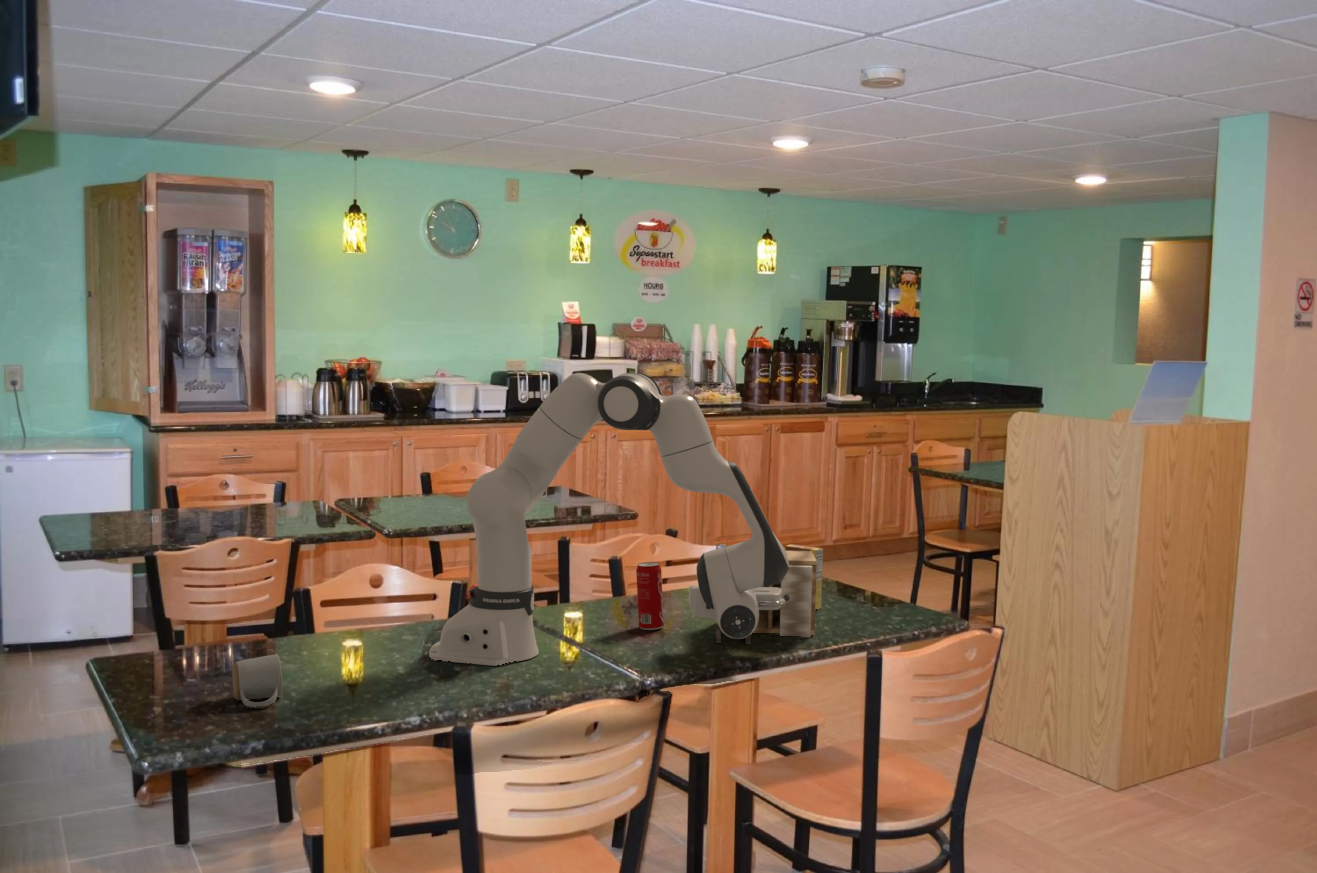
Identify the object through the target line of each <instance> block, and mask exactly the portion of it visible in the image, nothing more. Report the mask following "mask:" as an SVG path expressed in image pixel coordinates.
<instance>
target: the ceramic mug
mask: <svg viewBox="0 0 1317 873" xmlns="http://www.w3.org/2000/svg"><path fill="white" fill-rule="evenodd" d="M280 660H281V658H280V656H279V654H278V653H275V654H271V655H265V656H264V655H263V656H260V657H259V656H258V657H253V658H247V659H242V660H239V661H238V660H237V661H236V662H234V663H233V664H232V665H231V666H232V667H231V668H232V669H231V675H232V689H233V696H234V699H235V700H236V699H237V700H236V701H238V700H242V701H241V702H242V704H243V705H244V706H245V705H246V706H252V707H256V706H257V707H258V706H267V705H270V704H272V703H273V704H275V702H276V701H277V697H278V696H281V697H282V696H283V676H282V675H283V673H282V666H281V661H280ZM270 697H271V698H270ZM261 698H269V699H265V700H264V701H258V702H257V701H256V702H255V701H252V700H250V701H249V699H257V700H262V699H261ZM278 698H279V697H278ZM273 704H272V705H273ZM246 706H245V707H246Z"/></svg>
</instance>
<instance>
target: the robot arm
mask: <svg viewBox="0 0 1317 873" xmlns="http://www.w3.org/2000/svg"><path fill="white" fill-rule="evenodd" d="M601 420H603V421H604V422H605V423H606V424H607V425H608V426H609V427H612V428H614V429H616V430H621V431H649V432H650V433H651V434H652V436H653V438H654V440H655V442H656V445H657V449H658V452H659V456H660V459H661V462H662V464H663V468H664V471H665V473H666V475H667V477H668V478H669V480H670V481H671V482H672V484H674V485H675V486H677V487H679V488H681V489H682V490H685V491H689V492H695V493H706V494H707V493H708V494H714V495H715V494H716V495H722V496H726V497H728V498H730V499H731V500H733V501H734V502H735V503H736V505H737V507H738V508H739V510H740V512H741V515H742V516H743V519H744V520H745V523H746V525H747V526H748V529H749V530H750V532H751V535H752V536H751V537H750V538H749V539H747V540H744V541H742V542H738V543H734V544H731V545H727V546H722V547H719V548H716V549H712V550H709V551H706V552H703V553H702V554H701V555H700V557H699V560H698V562H697V564H696V578H697V584H698V585H690V586H688V605H689V607H690V609H691V610H692V611H693V612H694V616H695V618H698V619H702V620H703V619H705V620H709V621H715V622H716V624H717V626H718V628H719V630H721V632H722V633H723V635H725V636H726V637H728V638H731V639H735V640H740V639H744V638H745V637H747V636H749V635H750V636H751V635H752V633H753V632H754V631H755V629H756V627H757V625H758V621H759V610H778V609H780V608H781V606H782V605H785V600H784V599H782V589H781V588H778V587H764V586H769V585H774V584H779V583H780V582H781V581H782V580H783V578H784V577H785V575H786V574H787V572H788V570H789V561H788V557H787V554H786V551H785V547H784V546H783V544H782V542H781V541H780V540H779V539H778V537H777V536H776V534H775V533H774V532H773V530H772V528H771V525H770V523H769V521H768V520H767V518H766V517H767V516H765V514H764V512H763V510H762V507H761V506H760V504H759V502H758V499H757V498H756V496H755V494H754V491H753V490H752V488H751V486H750V485H749V483H748V481H747V478H746V476H745V475H744V473H743V472H742V469H741V468H740V467H739V466H738V465H737V463H735V462H734V461H730V460H729V461H728V460H726V459H725V458H724V457H723V455H721V453H720V452H719V451H718V448H717V447H716V444H715V442H714V439H713V436H712V433H711V429H710V428H709V425H708V423H707V420H706V418H705V416H704V413H703V411H702V409H701V408H700V406H699V404H698V402H697V400H696V399H695V398H694V397H693V396H691V395H689V394H684V393H674V394H670V395H662V392H661V389H660V387H659V385H658V383H657V382H656V381H655V380H654V379H653V378H652V377H650V376H649V375H648V374H645V373H640V372H626V373H621V374H619V375H617V376H615V377H613V378H611V379H609V380H608V381H606V382H601V381H599V380H597V379H596V378H594V377H593V376H592V375H589V374H587V373H584V372H583V373H582V372H576V373H571V374H570V375H568V376H567V377H566V378H565V379H564V380H562V382H560V383H559V384H558V386H556V387H555V388H554V390H552V391H551V392H550V393H549V395H548V396H547V397H546V398H545V399H544V401H542V403H541V404H540V406H539V407H538V408H537V410H536V411H534V413H533V414H532V416H531V417H530V418H529V419H528V421H527V422H526V423H525V425H524V426H523V428H522V429H521V430H520V431H519V432H518V434H517V435H516V437H515V440H514V443H513V444H512V446H511V448H510V450H509V451H508V453H507V455H506V456H505V458H504V459H503V460H502V462H501V463H500V465H498V466H497V468H495V469H494V470H491V471H488V472H485V473H484V474H482V475H480V476H479V477H478V478H476V480H475V481H474V482H473V483H472V485H471V486H470V488H469V490H468V492H467V496H466V505H467V506H466V507H467V509H468V512H469V514H470V516H471V518H472V525H473V529H474V535H475V539H476V546H477V548H476V549H477V583H474V584H472V585H471V586H470V587H469V590H468V592H467V601H468V604H467V605H466V606H465V607H463V608H462V609H461V610H459V611H458V612H457V613H455V614H454V615H453V616H451V617H450V618H449V619H448V620H447V621H446V622H445V623H444V626H442V630H441V632H440V633H441V635H440V638H439V641H437V642H436V643H435V644H433V645H432V646H431V647H430V649H429V652H428V657H430V658H431V659H430V658H429V659H430V660H432V659H433V660H432V661H437V660H442V661H441V662H448V661H450V663H451V662H452V663H461V664H470V663H471V665H482V666H495V667H498V666H497V665H500V666H503V665H502V664H504V665H506V664H505V663H507V664H510V663H515V662H514V661H516V662H521V661H525V660H530V659H533V658H534V657H536V656H537V655H539V653H540V651H539V648H538V645H537V644H538V643H537V639H536V635H535V628H534V619H533V613H534V609H535V592H534V586H533V584H532V575H533V573H532V572H533V571H532V569H533V568H532V565H533V564H532V562H533V561H532V560H533V558H532V557H533V554H532V553H533V551H532V546H531V545H530V543H529V539H528V537H529V536H528V533H527V532H528V531H527V526H526V515H527V514H528V513H530V512H531V511H532V510H533V509H534V508H535V507H536V505H537V503H538V502H539V501H540V500H541V498H542V497H543V495H544V493H545V492H546V491H547V489H548V488H549V486H550V485H551V483H552V482H553V480H554V478H555V477H556V476H557V474H558V472H559V471H560V469H561V468H562V467H563V465H564V464H565V463H566V462H567V460H568V459H569V457H570V456H571V455H572V454H573V453H574V451H575V450H576V449H577V447H578V446H579V445H580V443H581V442H582V441H583V440H584V439H585V438H586V436H587V435H588V433H589V432H590V431H591V429H593V427H594V426H595V425H596V424H597V423H598V422H600V421H601ZM761 586H763V587H761ZM509 662H510V663H509Z"/></svg>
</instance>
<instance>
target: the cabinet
mask: <svg viewBox="0 0 1317 873" xmlns="http://www.w3.org/2000/svg"><path fill="white" fill-rule="evenodd" d="M786 554H787V557H788V561H789V570H788V572H787V574H786V575H785V577H784V578H783V580H782V581H781V582H780V583H779V584H774V585H769V586H764V587H778V588H781V589H782V599H784V600H785V605H782V606H781V608H780V609H778V610H759V621H758V625H757V627H756V629H755V631H754V632H753V633H771V634H770V635H773V634H772V633H780V635H779V637H780V636H801V637H800V638H811V636H815V630H816V629H815V626H816V623H815V622H816V610H815V601H816V567H817V561H816V559H815V557H814V555H813V553H812V551H786ZM761 587H763V586H761ZM721 632H722V631H721V630H720V629H715V642H716V643H721V644H722V634H721ZM810 634H811V635H810ZM745 639H746V640H745V645H746V644H751V643H752V642H751V634H750V635H749V636H747V637H745ZM716 643H715V644H716Z"/></svg>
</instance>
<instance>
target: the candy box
mask: <svg viewBox="0 0 1317 873" xmlns="http://www.w3.org/2000/svg"><path fill="white" fill-rule="evenodd" d="M784 549H785V551H812V553H813V555H814V557H815V559H816V561H817V567H816V601H815V611H817V610H820V609H821V608H822V588H823V565H824V563H823V561H824V548H823V547H819V546H817V547H816V546H809V545H800V544H792V543H791V544H787V545H785V547H784ZM816 609H817V610H816Z"/></svg>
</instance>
